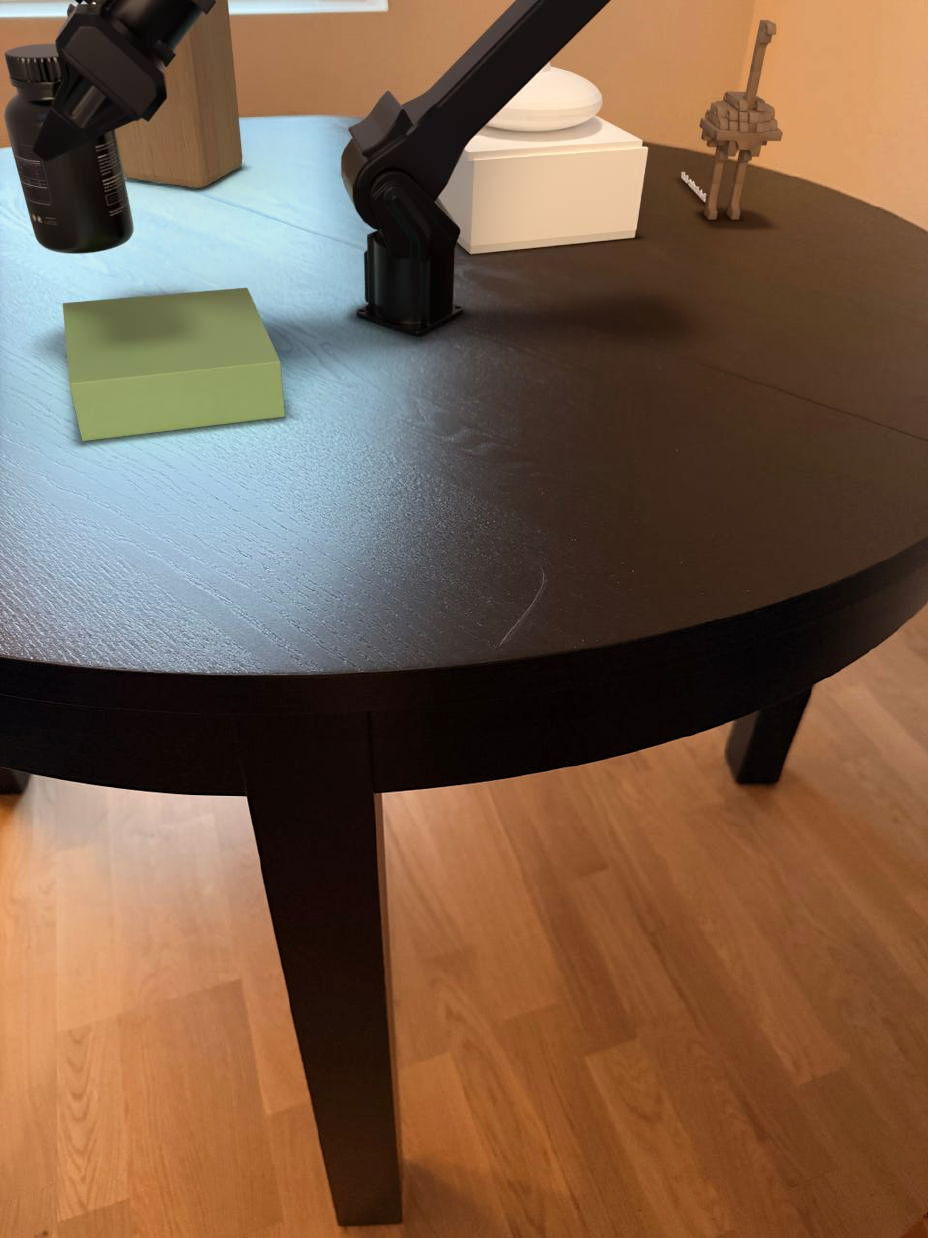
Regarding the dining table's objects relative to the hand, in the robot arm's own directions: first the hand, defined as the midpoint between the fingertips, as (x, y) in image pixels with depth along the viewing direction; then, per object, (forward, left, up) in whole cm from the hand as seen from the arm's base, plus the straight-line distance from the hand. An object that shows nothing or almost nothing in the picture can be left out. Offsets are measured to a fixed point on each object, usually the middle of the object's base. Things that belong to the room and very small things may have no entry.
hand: (43, 140), depth 67 cm
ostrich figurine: (-23, -64, -14) cm, 69 cm away
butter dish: (-10, -46, -14) cm, 49 cm away
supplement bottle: (-1, -1, -7) cm, 7 cm away
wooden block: (+25, -34, -14) cm, 44 cm away
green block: (-11, +1, -14) cm, 18 cm away
